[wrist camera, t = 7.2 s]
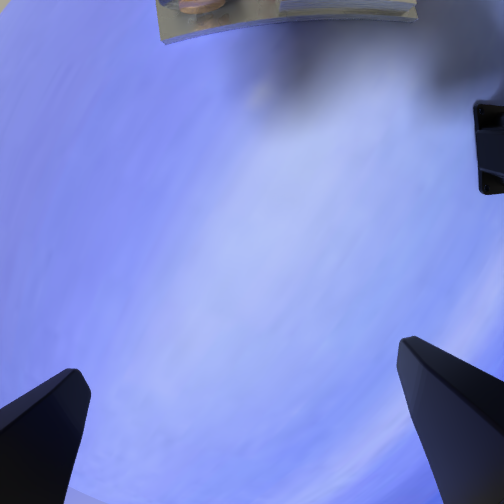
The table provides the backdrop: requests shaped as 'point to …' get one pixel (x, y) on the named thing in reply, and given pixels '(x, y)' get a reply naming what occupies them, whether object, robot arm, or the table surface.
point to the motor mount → (268, 14)
